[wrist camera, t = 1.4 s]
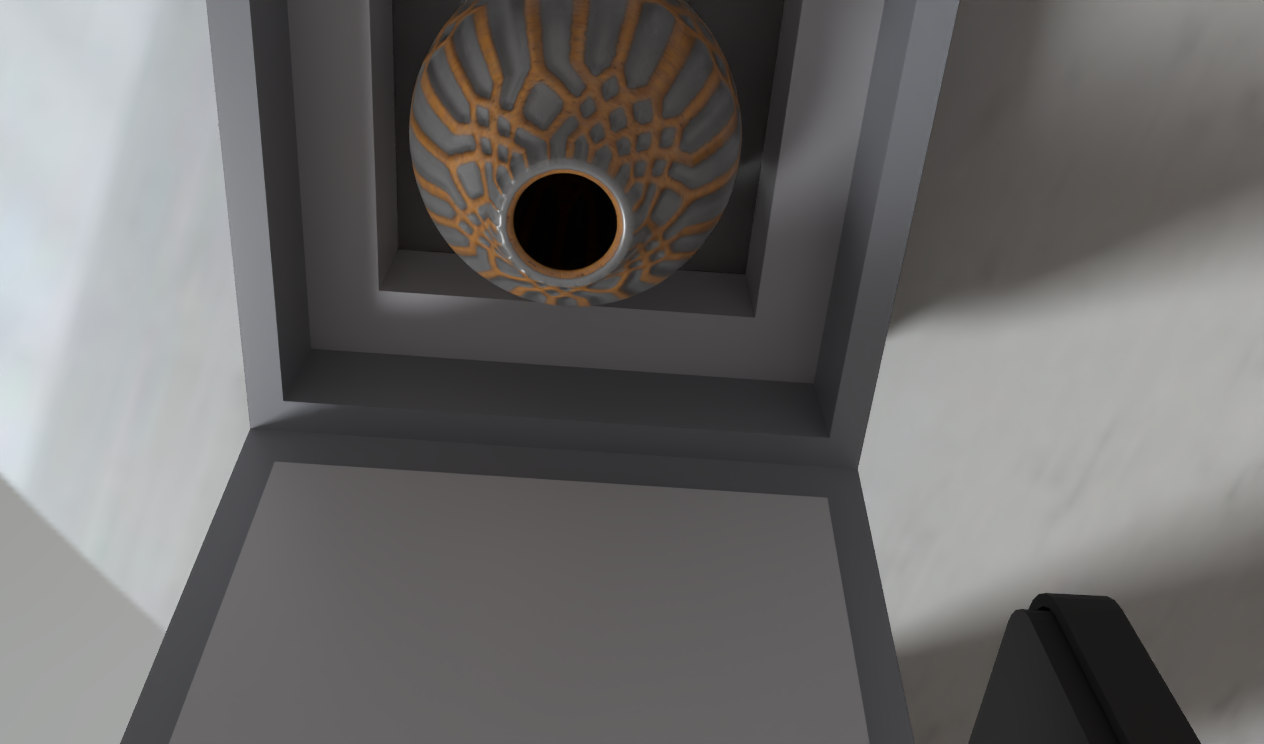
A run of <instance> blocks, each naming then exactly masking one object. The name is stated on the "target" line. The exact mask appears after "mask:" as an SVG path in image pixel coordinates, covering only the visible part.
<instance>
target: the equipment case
mask: <svg viewBox="0 0 1264 744" xmlns="http://www.w3.org/2000/svg"><path fill="white" fill-rule="evenodd" d="M959 1H960V0H785V3H784V10H783V17H782V24H781V31H780V38H779V45H778V52H777V59H776V66H775V73H774V80H773V87H772V94H771V101H770V108H769V115H768V122H767V129H766V136H765V142H764V149H763V156H762V163H761V170H760V177H759V184H758V191H757V198H756V205H755V212H754V219H753V226H752V233H751V240H750V247H749V254H748V261H747V268H746V275H741V274H727V273H714V272H700V271H687V270H677V271H676V272H675V273H673V274H672V275H671V276H669V277H668V278H667V279H665V280H663V281H662V282H660V283H659V284H657V285H655V286H654V287H652V288H650V289H648V290H646V291H644V292H642V293H639V294H637V295H634V296H632V297H629V298H626V299H623V300H620V301H616V302H613V303H608V304H603V305H596V306H585V307H566V306H556V305H549V304H544V303H539V302H535V301H532V300H528V299H525V298H522V297H520V296H517V295H515V294H512V293H510V292H508V291H506V290H504V289H502V288H500V287H498V286H497V285H495V284H493V283H492V282H490V281H488V280H487V279H485V278H484V277H482V276H481V275H480V274H478V273H477V272H476V271H474V270H473V269H472V268H471V267H470V266H469V265H467V264H466V263H465V262H464V261H463V260H462V259H461V258H460V257H459V256H458V255H457V254H455V253H441V252H428V251H414V250H401V249H398V226H397V184H396V143H395V101H394V59H393V18H392V0H206V4H207V14H208V23H209V33H210V43H211V52H212V62H213V72H214V82H215V91H216V101H217V111H218V120H219V130H220V140H221V149H222V159H223V169H224V179H225V188H226V198H227V208H228V217H229V227H230V237H231V246H232V256H233V266H234V276H235V285H236V295H237V305H238V314H239V324H240V334H241V343H242V353H243V363H244V372H245V382H246V392H247V402H248V411H249V421H250V429H261V430H276V431H291V432H306V433H321V434H336V435H351V436H367V437H382V438H397V439H412V440H427V441H442V442H457V443H472V444H487V445H502V446H517V447H532V448H547V449H562V450H577V451H592V452H607V453H623V454H638V455H653V456H668V457H683V458H698V459H713V460H728V461H743V462H758V463H773V464H788V465H803V466H818V467H833V468H848V469H858V465H859V461H860V456H861V451H862V447H863V442H864V438H865V433H866V428H867V424H868V419H869V415H870V410H871V405H872V401H873V396H874V392H875V387H876V382H877V378H878V373H879V369H880V364H881V359H882V355H883V350H884V346H885V341H886V336H887V332H888V327H889V323H890V318H891V313H892V309H893V304H894V300H895V295H896V290H897V286H898V281H899V277H900V272H901V267H902V263H903V258H904V254H905V249H906V244H907V240H908V235H909V231H910V226H911V221H912V217H913V212H914V208H915V203H916V198H917V194H918V189H919V185H920V180H921V175H922V171H923V166H924V162H925V157H926V152H927V148H928V143H929V139H930V134H931V129H932V125H933V120H934V116H935V111H936V106H937V102H938V97H939V93H940V88H941V83H942V79H943V74H944V70H945V65H946V60H947V56H948V51H949V47H950V42H951V37H952V33H953V28H954V24H955V19H956V14H957V10H958V5H959Z"/></svg>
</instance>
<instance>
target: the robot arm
mask: <svg viewBox="0 0 1264 744" xmlns="http://www.w3.org/2000/svg"><path fill="white" fill-rule="evenodd" d="M969 744H1201V743H1200V741H1199V739H1198V738H1197V736H1196V734H1195V733H1194V731H1193V729H1192V727H1191V726H1190V724H1189V722H1188V721H1187V719H1186V717H1185V716H1184V714H1183V712H1182V711H1181V709H1180V707H1179V705H1178V704H1177V702H1176V700H1175V699H1174V697H1173V695H1172V694H1171V692H1170V690H1169V688H1168V687H1167V685H1166V683H1165V682H1164V680H1163V678H1162V677H1161V675H1160V673H1159V671H1158V670H1157V668H1156V666H1155V665H1154V663H1153V661H1152V660H1151V658H1150V656H1149V655H1148V653H1147V651H1146V649H1145V648H1144V646H1143V644H1142V643H1141V641H1140V639H1139V638H1138V636H1137V634H1136V632H1135V631H1134V629H1133V627H1132V626H1131V624H1130V622H1129V621H1128V619H1127V617H1126V615H1125V614H1124V612H1123V610H1122V609H1121V608H1120V606H1119V605H1118V604H1117V603H1116V601H1115V600H1113V599H1111V598H1109V597H1107V596H1091V595H1071V594H1052V593H1043V594H1039V595H1038V596H1037V597H1036V598H1035V599H1034V600H1033V601H1032V603H1031V605H1030V607H1029V609H1028V610H1024V609H1019V610H1015V611H1014V613H1013V614H1012V615H1011V617H1010V619H1009V621H1008V624H1007V627H1006V630H1005V633H1004V636H1003V639H1002V643H1001V646H1000V649H999V652H998V655H997V658H996V661H995V664H994V667H993V670H992V673H991V676H990V679H989V682H988V685H987V688H986V692H985V695H984V698H983V701H982V704H981V707H980V710H979V713H978V716H977V719H976V722H975V725H974V728H973V731H972V734H971V737H970V740H969Z"/></svg>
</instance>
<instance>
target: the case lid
mask: <svg viewBox="0 0 1264 744" xmlns="http://www.w3.org/2000/svg"><path fill="white" fill-rule="evenodd" d="M120 744H915V743H914V738H913V734H912V729H911V724H910V719H909V714H908V709H907V705H906V700H905V695H904V690H903V685H902V681H901V676H900V671H899V666H898V661H897V656H896V652H895V647H894V642H893V637H892V632H891V627H890V623H889V618H888V613H887V608H886V603H885V599H884V594H883V589H882V584H881V579H880V574H879V570H878V565H877V560H876V555H875V550H874V546H873V541H872V536H871V531H870V526H869V521H868V517H867V512H866V507H865V502H864V497H863V493H862V488H861V483H860V478H859V473H858V469H848V468H833V467H818V466H803V465H788V464H773V463H758V462H743V461H728V460H713V459H698V458H683V457H668V456H653V455H638V454H623V453H607V452H592V451H577V450H562V449H547V448H532V447H517V446H502V445H487V444H472V443H457V442H442V441H427V440H412V439H397V438H382V437H367V436H351V435H336V434H321V433H306V432H291V431H276V430H261V429H250V431H249V433H248V436H247V438H246V440H245V443H244V445H243V448H242V450H241V452H240V455H239V457H238V460H237V462H236V465H235V467H234V469H233V472H232V474H231V477H230V479H229V482H228V484H227V486H226V489H225V491H224V494H223V496H222V498H221V501H220V503H219V506H218V508H217V511H216V513H215V515H214V518H213V520H212V523H211V525H210V527H209V530H208V532H207V535H206V537H205V540H204V542H203V544H202V547H201V549H200V552H199V554H198V556H197V559H196V561H195V564H194V566H193V569H192V571H191V573H190V576H189V578H188V581H187V583H186V586H185V588H184V590H183V593H182V595H181V598H180V600H179V602H178V605H177V607H176V610H175V612H174V615H173V617H172V619H171V622H170V624H169V627H168V629H167V631H166V634H165V636H164V639H163V641H162V644H161V646H160V649H159V651H158V653H157V656H156V658H155V661H154V663H153V666H152V668H151V670H150V673H149V675H148V678H147V680H146V682H145V685H144V687H143V690H142V692H141V694H140V697H139V699H138V702H137V704H136V706H135V709H134V711H133V714H132V716H131V719H130V721H129V723H128V726H127V728H126V731H125V733H124V736H123V738H122V740H121V743H120Z"/></svg>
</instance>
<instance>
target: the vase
mask: <svg viewBox="0 0 1264 744" xmlns="http://www.w3.org/2000/svg"><path fill="white" fill-rule="evenodd" d="M409 142H410V152H411V158H412V164H413V170H414V174H415V178H416V182H417V185H418V188H419V191H420V194H421V197H422V199H423V202H424V204H425V206H426V209H427V211H428V213H429V215H430V217H431V219H432V220H433V222H434V224H435V225H436V227H437V229H438V230H439V232H440V233H441V235H442V236H443V238H444V239H445V240H446V242H447V243H448V244H449V246H450V247H451V248H452V249H453V250H454V252H455V253H456V254H457V255H458V256H459V257H460V258H461V259H462V260H463V261H464V262H465V263H466V264H467V265H469V266H470V267H471V268H472V269H473V270H474V271H476V272H477V273H478V274H480V275H481V276H482V277H484V278H485V279H487V280H488V281H490V282H492V283H493V284H495V285H497V286H498V287H500V288H502V289H504V290H506V291H508V292H510V293H512V294H515V295H517V296H520V297H522V298H525V299H528V300H532V301H535V302H539V303H544V304H549V305H556V306H566V307H585V306H596V305H603V304H608V303H613V302H616V301H620V300H623V299H626V298H629V297H632V296H634V295H637V294H639V293H642V292H644V291H646V290H648V289H650V288H652V287H654V286H655V285H657V284H659V283H660V282H662V281H663V280H665V279H667V278H668V277H669V276H671V275H672V274H673V273H675V272H676V271H677V270H678V269H679V268H680V267H682V266H683V265H684V264H685V263H686V262H687V261H688V260H689V259H690V258H691V257H692V256H693V255H694V254H695V253H696V252H697V251H698V250H699V248H700V247H701V246H702V245H703V244H704V242H705V241H706V239H707V238H708V237H709V235H710V234H711V232H712V231H713V230H714V228H715V226H716V225H717V223H718V221H719V220H720V218H721V216H722V214H723V212H724V210H725V208H726V205H727V203H728V201H729V198H730V196H731V193H732V190H733V187H734V184H735V181H736V177H737V172H738V168H739V162H740V155H741V147H742V120H741V111H740V105H739V99H738V93H737V89H736V86H735V82H734V79H733V76H732V73H731V70H730V67H729V65H728V63H727V61H726V58H725V56H724V54H723V52H722V50H721V48H720V46H719V44H718V42H717V40H716V39H715V37H714V36H713V34H712V33H711V31H710V29H709V28H708V27H707V25H706V24H705V23H704V22H703V20H702V19H701V18H700V16H699V15H698V14H697V13H696V12H695V11H694V10H693V9H692V8H691V6H690V5H689V4H688V3H687V2H686V1H685V0H467V1H465V2H464V3H463V4H462V5H461V6H460V7H459V8H458V10H457V11H456V12H455V13H454V14H453V15H452V16H451V17H450V19H449V20H448V21H447V22H446V24H445V25H444V26H443V28H442V29H441V30H440V32H439V33H438V35H437V36H436V38H435V40H434V41H433V43H432V45H431V47H430V49H429V51H428V53H427V55H426V57H425V59H424V61H423V64H422V66H421V68H420V71H419V74H418V77H417V80H416V83H415V87H414V92H413V96H412V102H411V110H410V122H409Z"/></svg>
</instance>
